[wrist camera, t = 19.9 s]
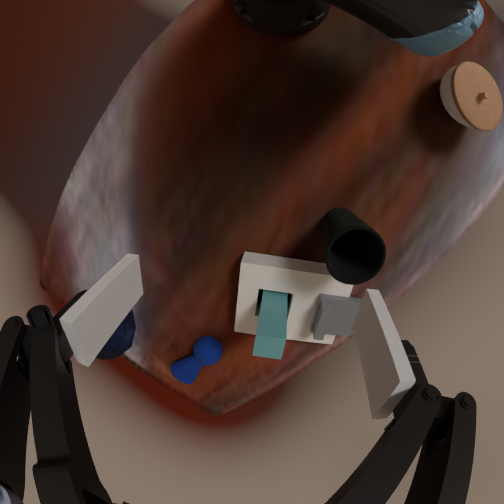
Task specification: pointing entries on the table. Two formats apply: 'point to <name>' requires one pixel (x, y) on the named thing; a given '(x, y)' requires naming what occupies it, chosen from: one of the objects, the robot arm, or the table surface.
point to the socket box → (288, 281)
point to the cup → (351, 247)
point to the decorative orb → (119, 339)
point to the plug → (271, 325)
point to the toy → (197, 359)
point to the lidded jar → (471, 96)
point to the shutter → (334, 316)
